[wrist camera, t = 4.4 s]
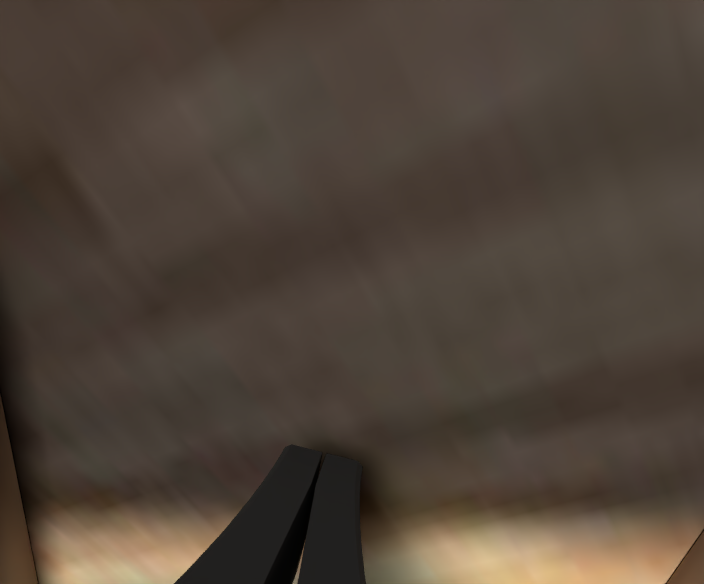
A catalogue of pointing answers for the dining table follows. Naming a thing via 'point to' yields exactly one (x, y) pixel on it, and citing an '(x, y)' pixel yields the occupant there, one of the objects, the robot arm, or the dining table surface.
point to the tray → (17, 561)
